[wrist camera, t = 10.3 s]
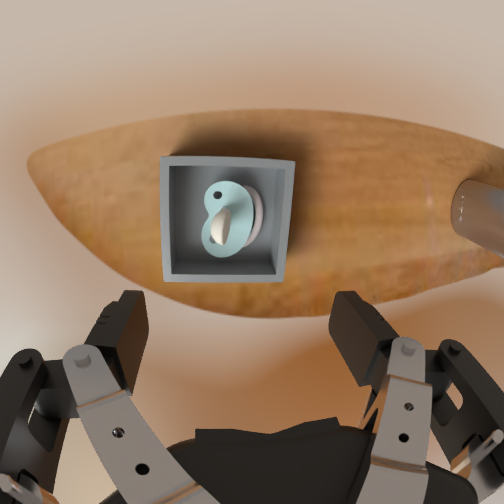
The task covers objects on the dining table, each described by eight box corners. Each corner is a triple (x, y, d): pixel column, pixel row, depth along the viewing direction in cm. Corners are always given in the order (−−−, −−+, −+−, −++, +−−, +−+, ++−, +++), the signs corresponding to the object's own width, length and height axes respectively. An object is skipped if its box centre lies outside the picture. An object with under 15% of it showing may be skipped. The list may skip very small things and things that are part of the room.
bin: (282, 159, 27) (295, 161, 23) (273, 263, 31) (283, 281, 27) (168, 155, 25) (160, 156, 21) (170, 263, 29) (163, 281, 25)
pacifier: (266, 182, 27) (206, 176, 26) (283, 192, 21) (206, 184, 20) (257, 251, 29) (200, 247, 28) (270, 277, 24) (199, 274, 22)
